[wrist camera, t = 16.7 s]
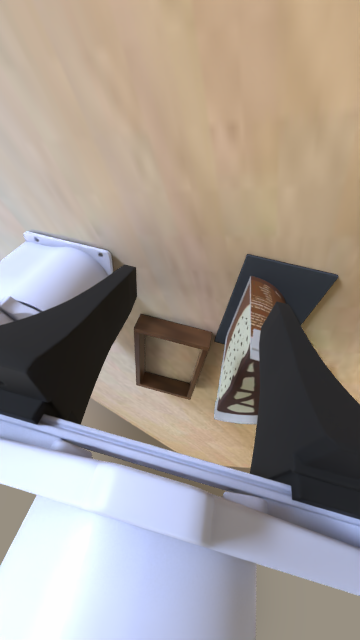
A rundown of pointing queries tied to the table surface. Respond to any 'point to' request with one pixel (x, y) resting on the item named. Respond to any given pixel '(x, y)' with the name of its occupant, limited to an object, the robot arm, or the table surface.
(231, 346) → the food container
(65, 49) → the table surface
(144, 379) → the walnut tray
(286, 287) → the rubber mat
